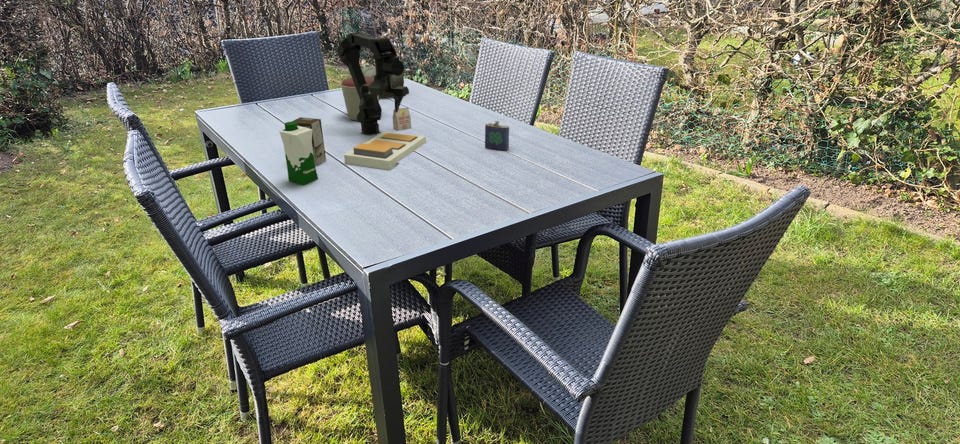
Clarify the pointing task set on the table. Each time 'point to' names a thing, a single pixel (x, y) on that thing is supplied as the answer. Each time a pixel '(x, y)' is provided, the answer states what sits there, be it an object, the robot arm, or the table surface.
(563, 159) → the table surface
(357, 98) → the canister
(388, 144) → the orange drawer
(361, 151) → the switch
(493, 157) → the table surface
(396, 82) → the gourd
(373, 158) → the cream board with panels
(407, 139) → the orange cabinet drawer
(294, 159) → the milk carton
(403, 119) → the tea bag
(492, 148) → the flask
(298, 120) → the coffee box
